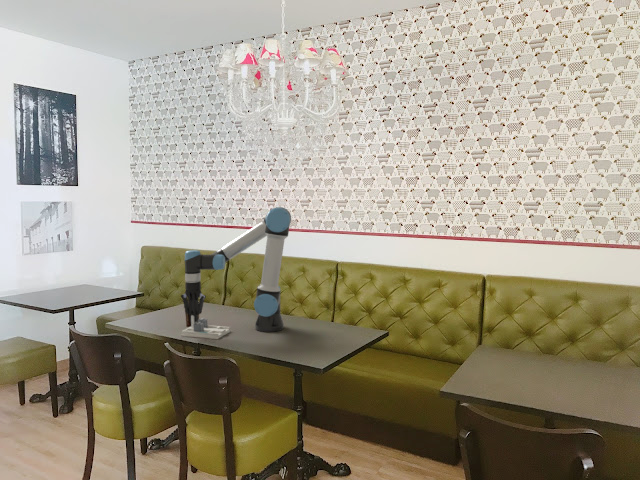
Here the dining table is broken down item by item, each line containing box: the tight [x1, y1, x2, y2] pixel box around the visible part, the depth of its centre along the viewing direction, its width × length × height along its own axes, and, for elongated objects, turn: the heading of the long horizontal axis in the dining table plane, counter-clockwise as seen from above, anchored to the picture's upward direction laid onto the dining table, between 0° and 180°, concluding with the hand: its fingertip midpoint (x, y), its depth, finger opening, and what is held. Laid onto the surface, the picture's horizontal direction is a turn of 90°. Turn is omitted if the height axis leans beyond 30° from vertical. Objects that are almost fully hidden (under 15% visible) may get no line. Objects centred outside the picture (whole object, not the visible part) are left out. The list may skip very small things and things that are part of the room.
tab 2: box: [194, 322, 204, 332], centre depth 249 cm, size 4×3×5 cm
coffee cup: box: [183, 301, 200, 328], centre depth 266 cm, size 9×8×13 cm
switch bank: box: [180, 324, 231, 340], centre depth 253 cm, size 20×14×3 cm
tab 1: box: [198, 317, 208, 328], centre depth 257 cm, size 4×3×5 cm
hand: (193, 327), depth 250 cm, fingers closed
